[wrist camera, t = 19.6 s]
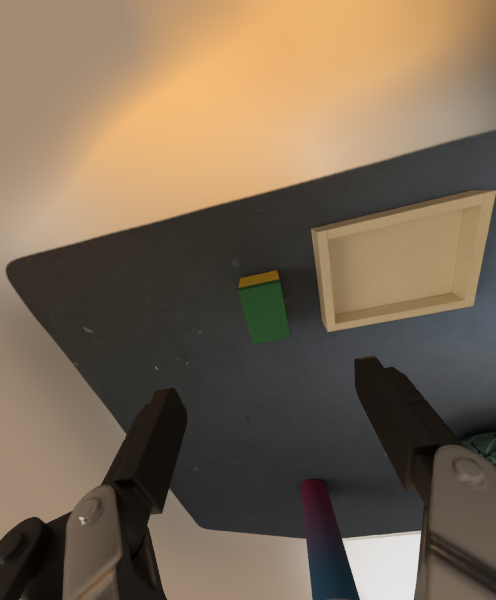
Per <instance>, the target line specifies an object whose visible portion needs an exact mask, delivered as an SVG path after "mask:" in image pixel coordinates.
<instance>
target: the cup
mask: <svg viewBox="0 0 496 600" xmlns="http://www.w3.org/2000/svg"><path fill="white" fill-rule="evenodd" d="M301 492H302V502H303V511H304V521H305V531H306V540H307V549H308V559H309V569H310V579H311V588H312V598H313V600H360V599H359V596H358V592H357V589H356V585H355V582H354V579H353V575H352V572H351V568H350V565H349V562H348V558H347V555H346V551H345V548H344V545H343V541H342V538H341V534H340V531H339V528H338V524H337V521H336V518H335V514H334V511H333V507H332V504H331V501H330V497H329V494H328V491H327V487H326V484H325V482H323V481H322V480H319V479H310V480H306V481H304V482H303V483H302V484H301Z"/></svg>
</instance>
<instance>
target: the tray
mask: <svg viewBox="0 0 496 600" xmlns="http://www.w3.org/2000/svg"><path fill="white" fill-rule="evenodd" d="M495 195H496V190H471V191H467V192H463V193H459V194H454V195H450V196H446V197H442V198H438V199H433V200H429V201H425V202H421V203H417V204H412V205H408V206H404V207H400V208H396V209H391V210H387V211H383V212H379V213H375V214H370V215H366V216H362V217H358V218H354V219H349V220H345V221H341V222H337V223H333V224H328V225H324V226H320V227H316V228H312V229H311V233H312V241H313V249H314V258H315V266H316V274H317V283H318V291H319V300H320V308H321V316H322V322H323V324H324V326H325V328H326V330H327V332H331V331H336V330H342V329H348V328H353V327H359V326H364V325H370V324H375V323H381V322H387V321H392V320H398V319H403V318H409V317H414V316H420V315H426V314H431V313H437V312H442V311H448V310H453V309H459V308H465V307H471V306H473V305H474V300H475V295H476V290H477V285H478V280H479V275H480V270H481V265H482V260H483V255H484V250H485V245H486V240H487V235H488V230H489V225H490V220H491V215H492V210H493V205H494V200H495Z"/></svg>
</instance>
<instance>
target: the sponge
mask: <svg viewBox="0 0 496 600" xmlns="http://www.w3.org/2000/svg"><path fill="white" fill-rule="evenodd" d="M238 293H239V296H240V300H241V304H242V307H243V311H244V314H245V318H246V321H247V325H248V329H249V332H250V336H251V339H252V343H253V344H257V343H262V342H268V341H274V340H279V339H285V338H290V337H291V335H290V330H289V325H288V320H287V314H286V309H285V304H284V299H283V293H282V288H281V283H280V279H279V276H278V272H277V270H276V271H271V272H267V273H262V274H257V275H253V276H248V277H243V278H240V284H239V289H238Z"/></svg>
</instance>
